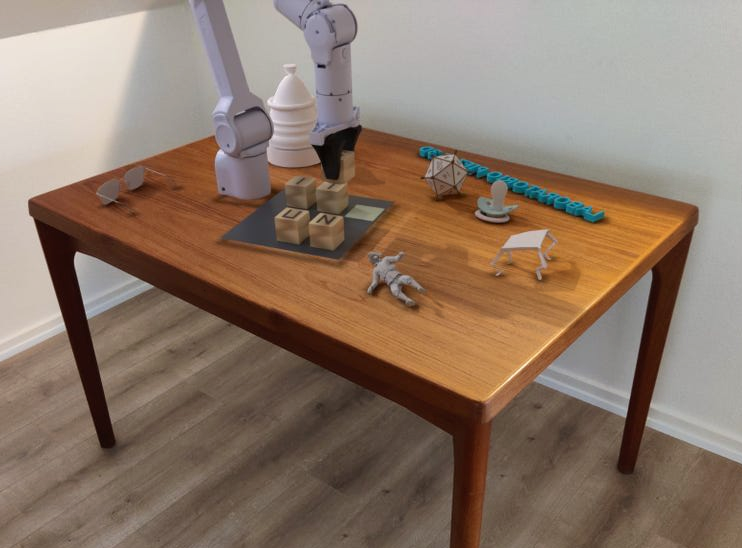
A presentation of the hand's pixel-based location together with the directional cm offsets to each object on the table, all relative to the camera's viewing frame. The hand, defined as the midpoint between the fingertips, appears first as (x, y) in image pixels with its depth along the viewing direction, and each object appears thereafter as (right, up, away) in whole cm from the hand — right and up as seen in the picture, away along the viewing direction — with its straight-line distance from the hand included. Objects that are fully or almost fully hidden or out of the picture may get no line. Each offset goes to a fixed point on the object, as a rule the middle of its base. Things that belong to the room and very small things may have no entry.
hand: (338, 173), depth 123 cm
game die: (+19, -1, +14) cm, 24 cm away
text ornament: (+31, +3, +18) cm, 36 cm away
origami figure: (+30, -17, -9) cm, 36 cm away
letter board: (-5, -7, +5) cm, 10 cm away
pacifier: (+27, -6, +6) cm, 28 cm away
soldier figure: (+9, -21, -14) cm, 27 cm away
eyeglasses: (-38, -1, +16) cm, 42 cm away
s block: (0, -1, 0) cm, 1 cm away
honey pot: (-10, +12, +33) cm, 36 cm away
